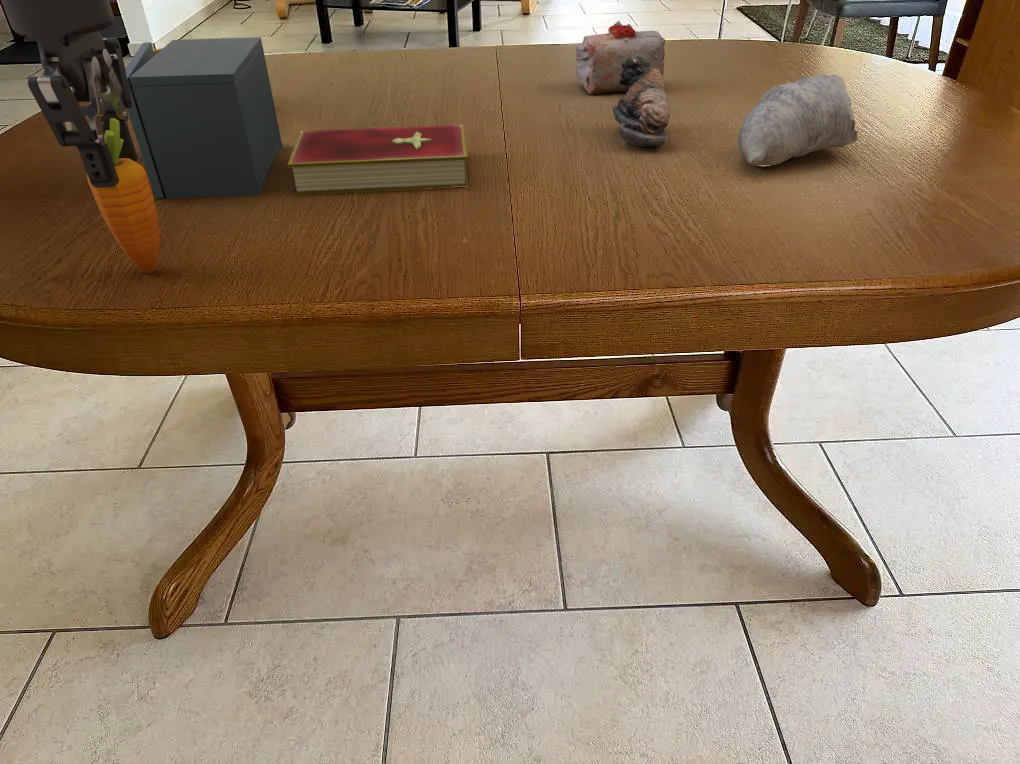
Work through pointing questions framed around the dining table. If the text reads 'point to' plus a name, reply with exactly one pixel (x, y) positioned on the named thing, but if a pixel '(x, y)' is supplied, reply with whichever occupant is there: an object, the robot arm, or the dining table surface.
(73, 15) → the robot arm
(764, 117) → the seashell
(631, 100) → the bison figurine
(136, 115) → the door
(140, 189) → the carrot
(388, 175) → the hardcover book
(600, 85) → the food item
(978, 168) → the dining table surface
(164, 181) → the cupboard
